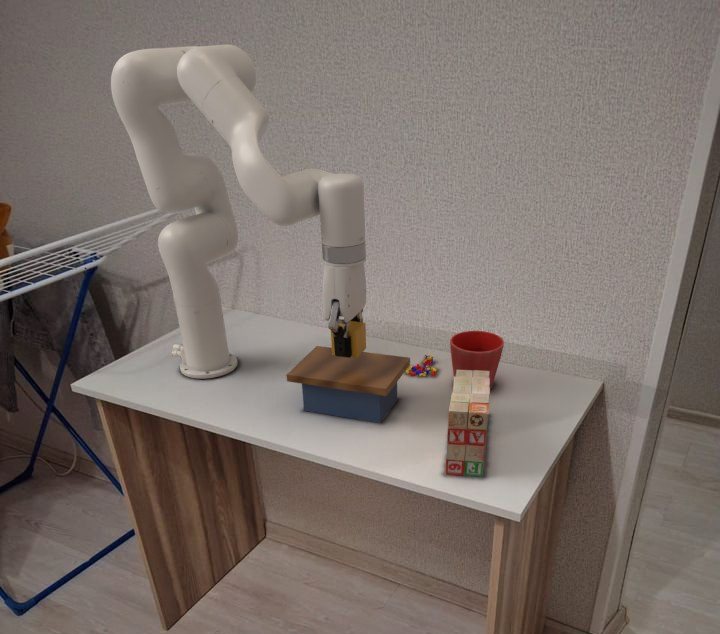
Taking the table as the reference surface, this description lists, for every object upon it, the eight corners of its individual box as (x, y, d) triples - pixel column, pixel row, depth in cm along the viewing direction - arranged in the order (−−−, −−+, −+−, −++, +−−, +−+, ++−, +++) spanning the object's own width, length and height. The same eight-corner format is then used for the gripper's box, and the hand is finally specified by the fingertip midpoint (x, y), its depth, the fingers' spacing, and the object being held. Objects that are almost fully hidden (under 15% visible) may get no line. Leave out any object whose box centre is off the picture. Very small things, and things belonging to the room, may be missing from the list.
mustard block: (332, 355, 126) (330, 329, 123) (342, 344, 130) (340, 319, 127) (356, 358, 125) (355, 332, 122) (366, 347, 128) (365, 322, 125)
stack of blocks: (454, 413, 130) (457, 353, 123) (487, 415, 129) (492, 355, 122) (445, 474, 112) (448, 409, 105) (483, 477, 111) (488, 412, 104)
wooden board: (286, 381, 128) (286, 374, 127) (317, 352, 138) (316, 345, 137) (386, 396, 121) (386, 388, 120) (410, 364, 132) (410, 357, 131)
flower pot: (510, 381, 140) (514, 337, 134) (482, 401, 133) (486, 356, 128) (466, 368, 146) (468, 325, 140) (437, 387, 139) (439, 343, 133)
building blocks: (402, 374, 144) (402, 367, 144) (416, 359, 150) (417, 352, 149) (431, 379, 142) (431, 372, 141) (444, 364, 148) (444, 357, 147)
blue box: (304, 410, 133) (301, 378, 129) (324, 388, 140) (322, 357, 136) (380, 423, 127) (379, 390, 124) (397, 399, 135) (397, 367, 131)
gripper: (342, 238, 125) (347, 331, 135) (303, 265, 112) (312, 366, 122) (381, 240, 122) (383, 335, 132) (345, 268, 109) (350, 371, 119)
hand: (349, 349), depth 127 cm, fingers closed on mustard block, 5 cm apart
